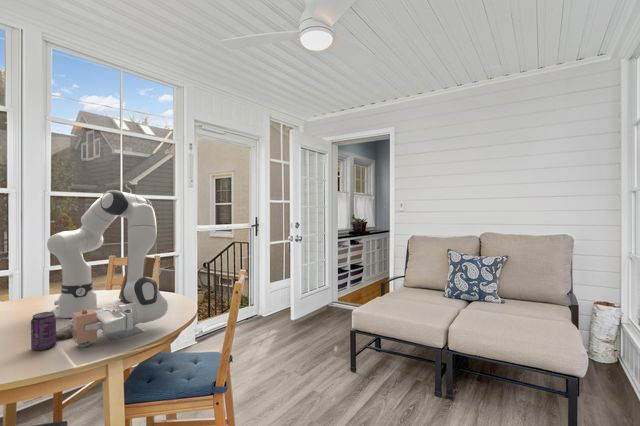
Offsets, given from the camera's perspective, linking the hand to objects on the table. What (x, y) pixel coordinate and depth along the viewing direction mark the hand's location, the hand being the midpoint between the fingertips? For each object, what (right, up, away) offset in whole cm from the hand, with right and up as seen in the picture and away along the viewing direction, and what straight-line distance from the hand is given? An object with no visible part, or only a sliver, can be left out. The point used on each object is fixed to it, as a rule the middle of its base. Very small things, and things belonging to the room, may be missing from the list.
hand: (81, 325), depth 124 cm
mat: (+7, -8, +14) cm, 17 cm away
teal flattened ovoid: (0, -8, +1) cm, 8 cm away
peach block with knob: (+1, -5, +1) cm, 5 cm away
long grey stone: (-8, -8, +21) cm, 24 cm away
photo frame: (-9, -7, +58) cm, 59 cm away
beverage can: (-14, -8, 0) cm, 16 cm away
